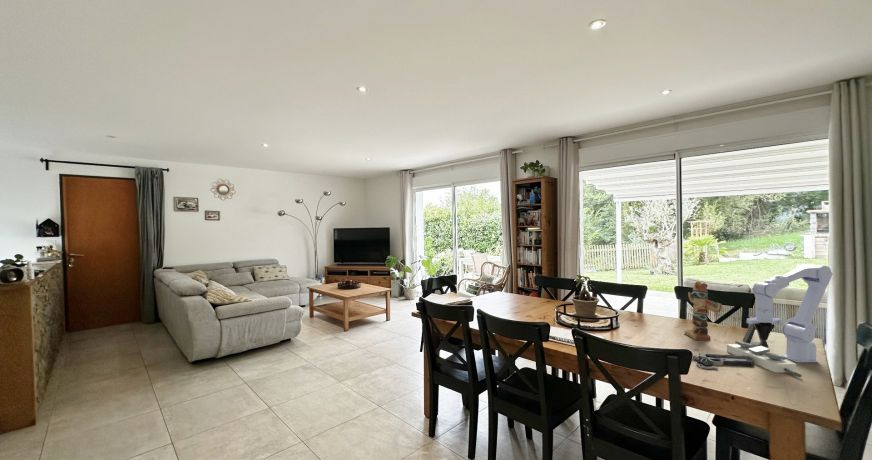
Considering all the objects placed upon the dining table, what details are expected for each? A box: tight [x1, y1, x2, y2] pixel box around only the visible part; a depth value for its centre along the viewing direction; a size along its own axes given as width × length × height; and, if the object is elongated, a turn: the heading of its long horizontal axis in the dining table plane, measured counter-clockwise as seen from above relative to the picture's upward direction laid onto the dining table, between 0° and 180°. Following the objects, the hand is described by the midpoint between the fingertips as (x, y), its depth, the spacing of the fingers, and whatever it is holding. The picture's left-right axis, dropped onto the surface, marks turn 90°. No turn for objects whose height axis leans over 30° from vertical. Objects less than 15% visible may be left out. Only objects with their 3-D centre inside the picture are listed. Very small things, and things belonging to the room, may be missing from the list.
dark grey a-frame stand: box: [742, 324, 769, 348], centre depth 183 cm, size 9×6×12 cm, turn 59°
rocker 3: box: [763, 352, 786, 360], centre depth 154 cm, size 6×4×1 cm, turn 92°
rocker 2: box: [748, 346, 771, 354], centre depth 161 cm, size 6×4×1 cm, turn 91°
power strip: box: [726, 343, 802, 378], centre depth 159 cm, size 9×30×4 cm, turn 1°
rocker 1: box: [734, 340, 756, 348], centre depth 168 cm, size 6×4×1 cm, turn 92°
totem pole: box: [684, 280, 723, 342], centre depth 194 cm, size 29×7×30 cm, turn 172°
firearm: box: [693, 352, 755, 371], centre depth 159 cm, size 3×24×15 cm
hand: (763, 339), depth 161 cm, fingers closed
